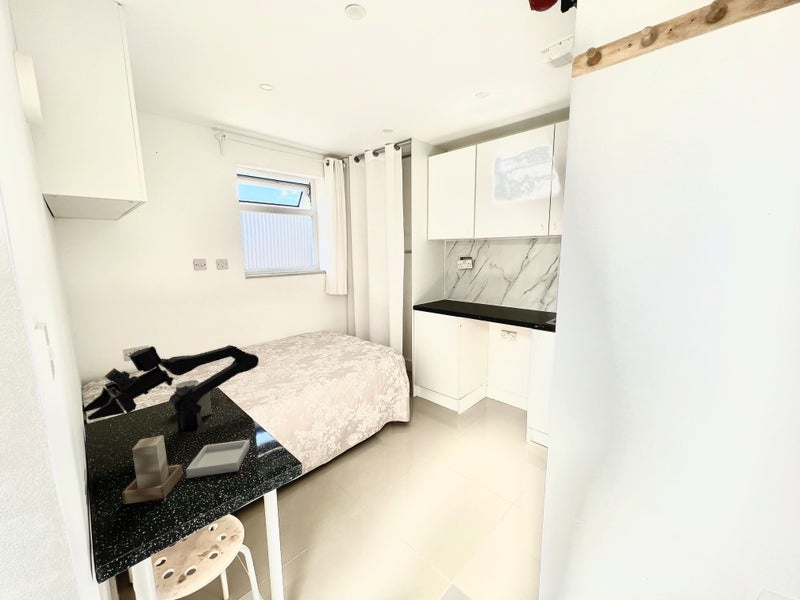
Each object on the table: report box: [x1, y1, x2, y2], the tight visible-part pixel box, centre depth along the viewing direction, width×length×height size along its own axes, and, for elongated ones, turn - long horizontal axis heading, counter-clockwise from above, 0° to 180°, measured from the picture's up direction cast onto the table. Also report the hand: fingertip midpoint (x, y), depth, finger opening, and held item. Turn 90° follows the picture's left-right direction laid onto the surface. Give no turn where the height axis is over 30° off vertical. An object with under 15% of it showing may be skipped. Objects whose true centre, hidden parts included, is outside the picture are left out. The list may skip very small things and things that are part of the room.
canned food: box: [175, 379, 200, 404], centre depth 131 cm, size 8×8×11 cm
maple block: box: [131, 434, 169, 489], centre depth 82 cm, size 5×5×13 cm
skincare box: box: [195, 381, 213, 418], centre depth 126 cm, size 6×4×12 cm
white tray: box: [185, 439, 251, 479], centre depth 93 cm, size 13×12×2 cm
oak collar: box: [121, 464, 184, 505], centre depth 83 cm, size 9×9×3 cm
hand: (85, 414), depth 93 cm, fingers open, 9 cm apart
